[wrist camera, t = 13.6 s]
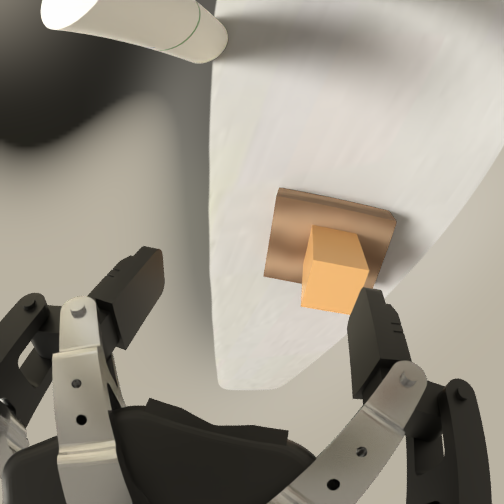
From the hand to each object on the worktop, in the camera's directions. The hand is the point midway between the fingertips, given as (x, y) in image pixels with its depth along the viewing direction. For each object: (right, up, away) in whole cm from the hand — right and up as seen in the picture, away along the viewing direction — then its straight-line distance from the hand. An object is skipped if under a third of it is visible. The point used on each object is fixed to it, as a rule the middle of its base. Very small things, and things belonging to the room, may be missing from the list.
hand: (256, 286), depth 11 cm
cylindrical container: (-7, +30, +19) cm, 36 cm away
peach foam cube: (+10, 0, +27) cm, 28 cm away
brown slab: (+11, +3, +29) cm, 31 cm away
